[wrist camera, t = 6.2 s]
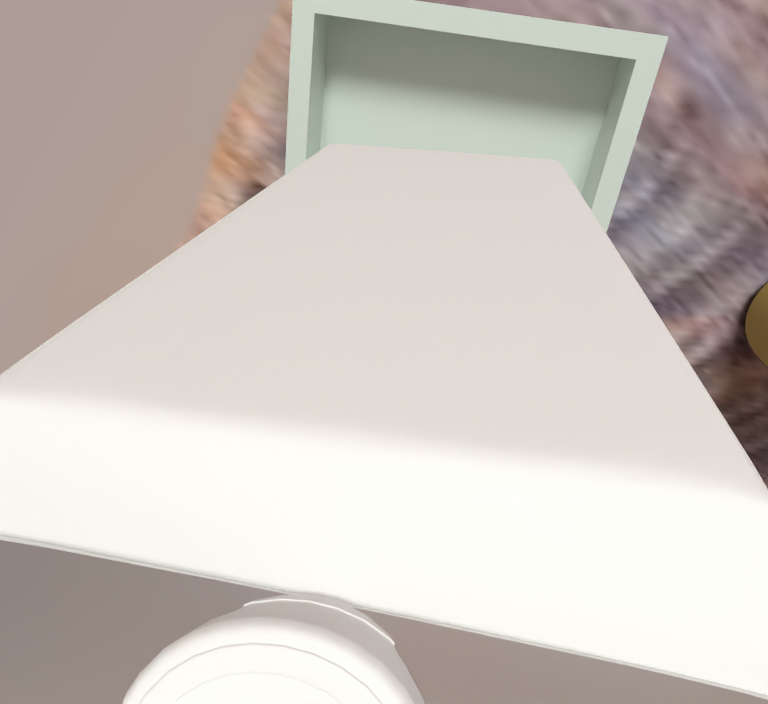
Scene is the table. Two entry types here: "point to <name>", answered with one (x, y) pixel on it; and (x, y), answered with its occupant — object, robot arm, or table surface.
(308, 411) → the milk carton
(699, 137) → the table surface
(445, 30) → the tray
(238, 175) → the table surface
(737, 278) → the table surface
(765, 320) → the paper tube
